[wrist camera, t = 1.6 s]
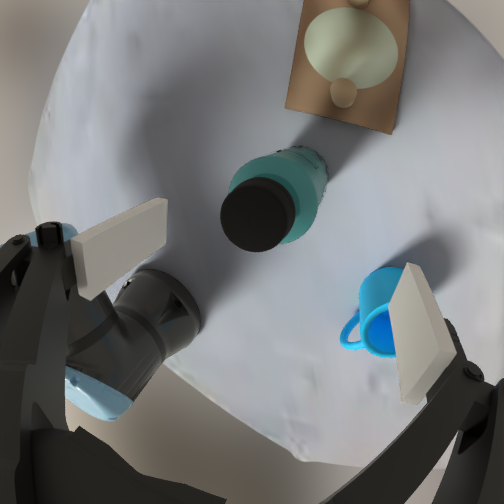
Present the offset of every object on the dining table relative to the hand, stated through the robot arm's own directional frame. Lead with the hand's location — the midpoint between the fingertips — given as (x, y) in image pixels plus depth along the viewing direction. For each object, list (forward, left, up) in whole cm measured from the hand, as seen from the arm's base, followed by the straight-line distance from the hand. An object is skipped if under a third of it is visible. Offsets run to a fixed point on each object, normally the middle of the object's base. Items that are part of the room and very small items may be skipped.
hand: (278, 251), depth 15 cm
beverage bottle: (-2, +1, -21) cm, 21 cm away
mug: (+12, -13, -21) cm, 28 cm away
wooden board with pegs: (+1, +17, -21) cm, 27 cm away
